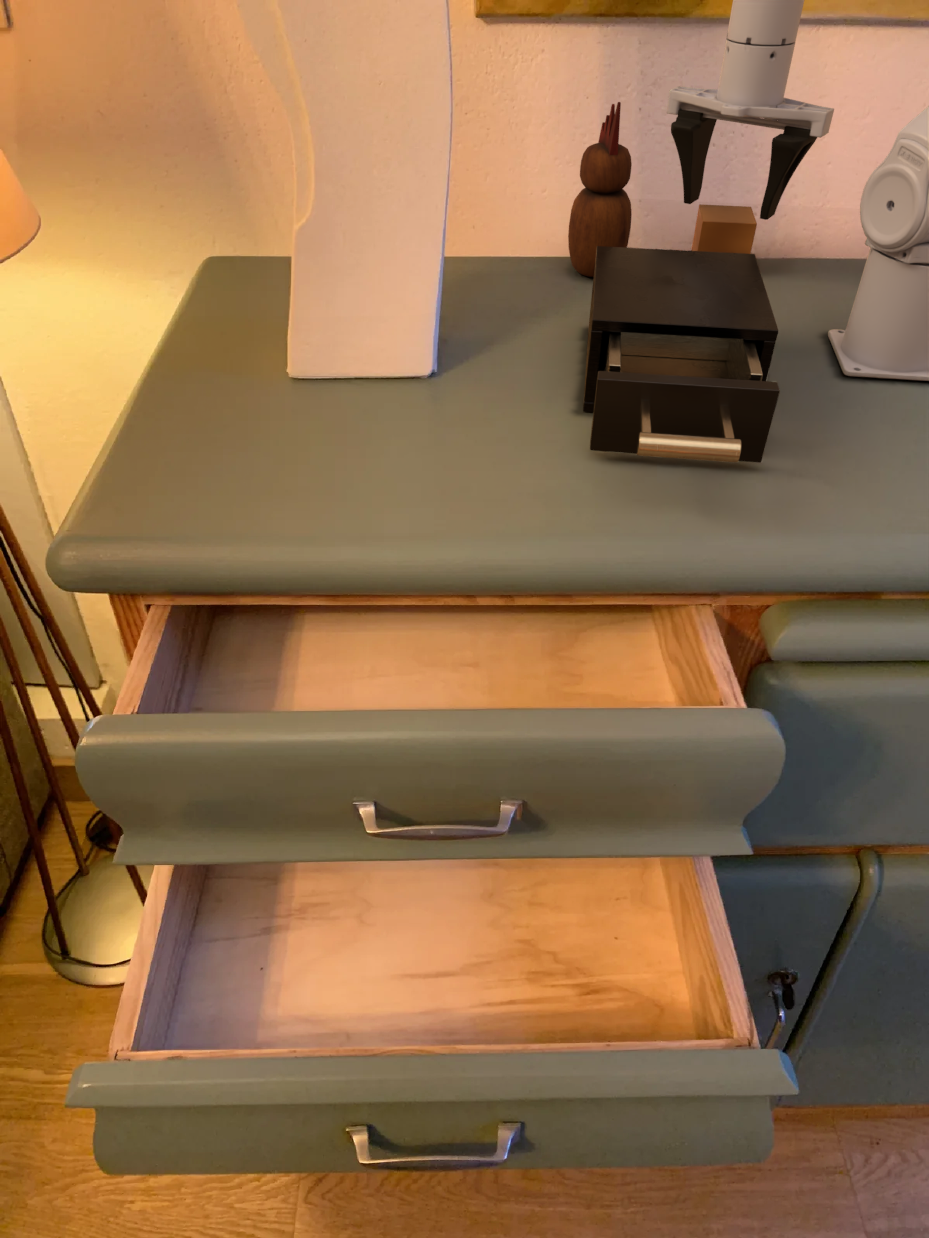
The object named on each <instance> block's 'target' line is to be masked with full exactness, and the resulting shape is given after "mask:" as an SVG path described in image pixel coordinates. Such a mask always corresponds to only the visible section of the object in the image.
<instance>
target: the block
mask: <svg viewBox="0 0 929 1238" xmlns="http://www.w3.org/2000/svg"><path fill="white" fill-rule="evenodd" d="M757 222H758V221H757V219H756V216H755V214H754V211H753V208H752V206H747V205H746V206H744V205H722V204H721V205H720V204H701V203H699V205H698V210H697V215H696V222H695V227H694V233H693V238H692V245H691V249H690V251H705V252H725V253H745V254H752V249H753V245H754V240H755V237H756V236H755V235H756V231H757V227H758V226H757V225H758V223H757Z"/></svg>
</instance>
